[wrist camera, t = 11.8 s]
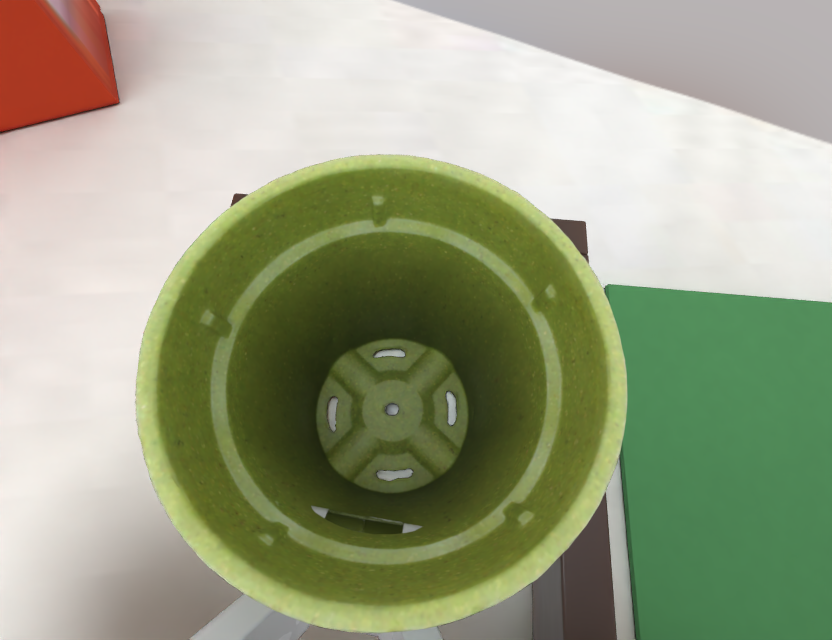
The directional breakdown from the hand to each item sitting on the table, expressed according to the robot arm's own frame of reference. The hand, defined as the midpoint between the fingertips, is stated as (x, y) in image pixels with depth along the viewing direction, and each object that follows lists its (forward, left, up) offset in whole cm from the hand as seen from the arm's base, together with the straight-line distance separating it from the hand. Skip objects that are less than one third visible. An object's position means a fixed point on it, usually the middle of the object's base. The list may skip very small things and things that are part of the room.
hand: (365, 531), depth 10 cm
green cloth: (-16, -3, -5) cm, 17 cm away
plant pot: (0, -4, -5) cm, 6 cm away
